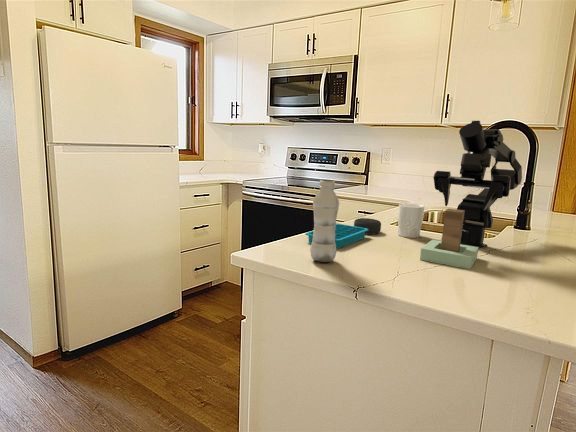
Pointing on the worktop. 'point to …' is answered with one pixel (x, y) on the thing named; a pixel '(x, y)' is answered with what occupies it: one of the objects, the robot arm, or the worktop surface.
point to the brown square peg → (452, 230)
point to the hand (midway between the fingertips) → (464, 207)
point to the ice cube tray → (344, 234)
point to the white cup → (410, 220)
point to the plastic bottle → (324, 222)
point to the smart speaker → (368, 225)
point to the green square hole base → (449, 255)
